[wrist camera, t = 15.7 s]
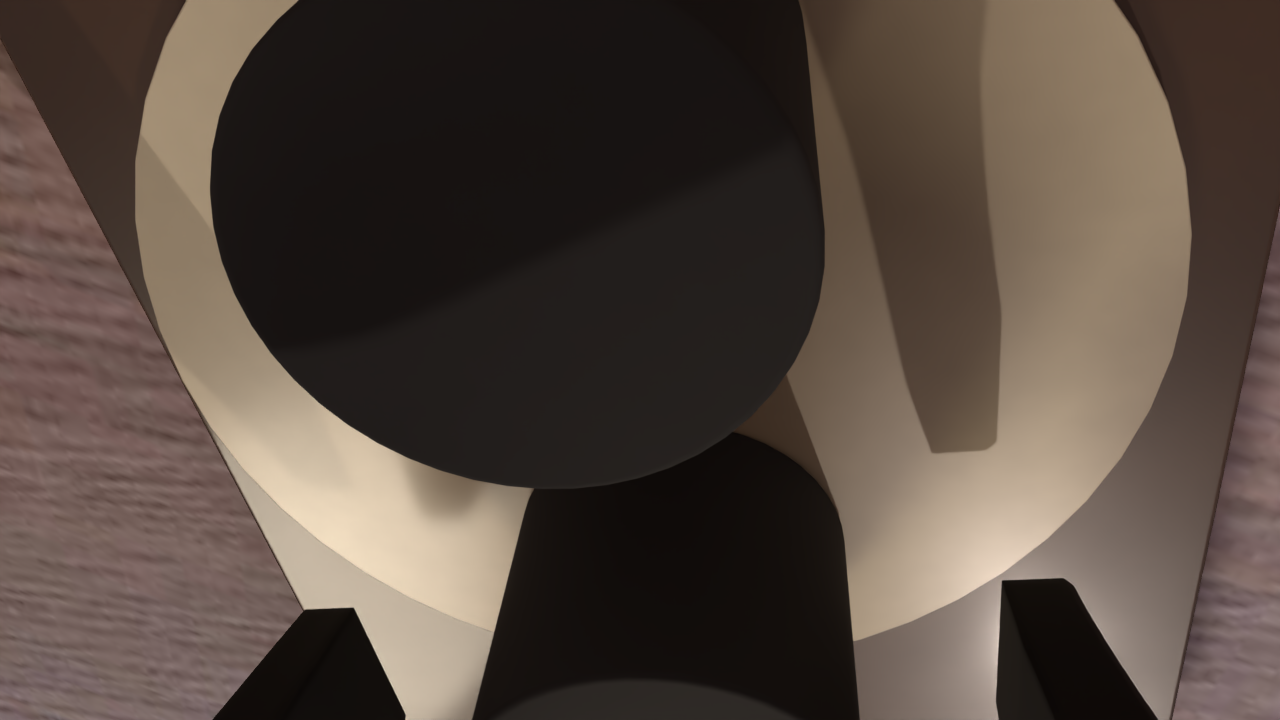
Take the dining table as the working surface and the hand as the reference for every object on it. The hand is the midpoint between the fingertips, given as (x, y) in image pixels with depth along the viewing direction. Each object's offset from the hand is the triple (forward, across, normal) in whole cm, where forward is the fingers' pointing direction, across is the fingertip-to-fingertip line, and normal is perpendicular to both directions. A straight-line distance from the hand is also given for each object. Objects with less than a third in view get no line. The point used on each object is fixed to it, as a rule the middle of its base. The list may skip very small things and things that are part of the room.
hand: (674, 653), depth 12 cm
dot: (+2, 0, -6) cm, 6 cm away
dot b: (+2, 0, 0) cm, 2 cm away
